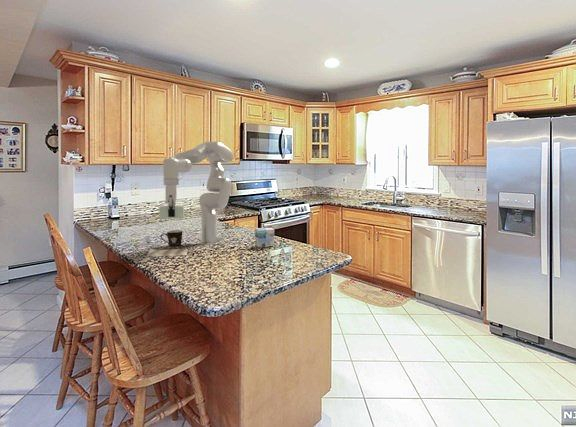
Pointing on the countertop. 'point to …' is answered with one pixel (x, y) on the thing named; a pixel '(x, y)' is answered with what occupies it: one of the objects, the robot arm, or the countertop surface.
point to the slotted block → (178, 212)
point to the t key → (148, 242)
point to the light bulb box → (264, 237)
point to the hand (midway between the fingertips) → (172, 215)
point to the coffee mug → (173, 238)
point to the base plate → (167, 252)
